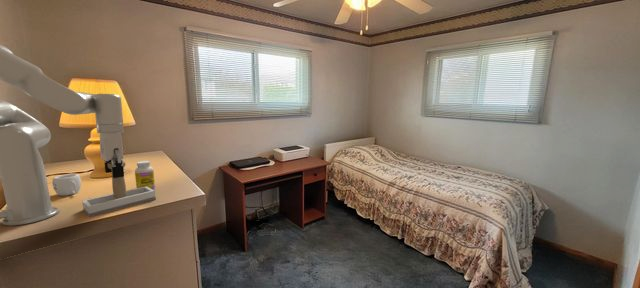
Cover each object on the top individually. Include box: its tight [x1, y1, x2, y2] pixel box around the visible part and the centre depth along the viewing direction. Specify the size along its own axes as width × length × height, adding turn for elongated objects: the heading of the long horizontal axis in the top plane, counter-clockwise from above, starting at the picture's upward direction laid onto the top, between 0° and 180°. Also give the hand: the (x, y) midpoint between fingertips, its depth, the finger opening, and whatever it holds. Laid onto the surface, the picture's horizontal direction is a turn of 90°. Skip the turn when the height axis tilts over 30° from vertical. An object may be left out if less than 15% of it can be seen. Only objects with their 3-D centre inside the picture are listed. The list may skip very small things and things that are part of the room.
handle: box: [107, 161, 127, 199], centre depth 95 cm, size 5×6×15 cm
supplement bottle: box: [134, 160, 156, 191], centre depth 110 cm, size 7×7×13 cm
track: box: [81, 186, 157, 217], centre depth 96 cm, size 20×10×4 cm, turn 141°
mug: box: [51, 173, 82, 197], centre depth 107 cm, size 12×8×8 cm
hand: (114, 174), depth 94 cm, fingers open, 9 cm apart
